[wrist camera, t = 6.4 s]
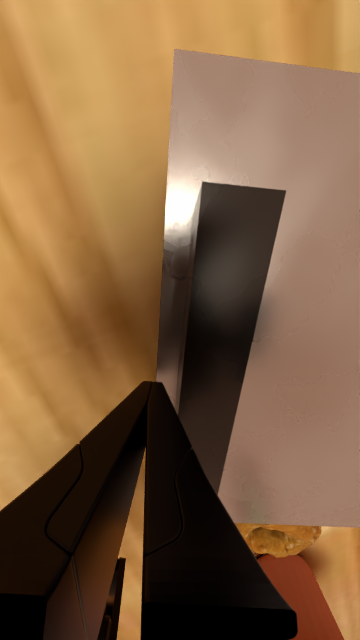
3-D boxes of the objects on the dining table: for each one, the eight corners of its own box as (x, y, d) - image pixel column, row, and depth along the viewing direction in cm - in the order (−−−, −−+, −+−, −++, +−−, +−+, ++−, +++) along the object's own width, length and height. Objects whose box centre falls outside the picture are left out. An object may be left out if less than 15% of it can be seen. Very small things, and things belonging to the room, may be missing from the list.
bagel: (215, 469, 22) (225, 524, 17) (308, 465, 22) (343, 519, 17) (213, 520, 25) (222, 579, 20) (295, 517, 25) (321, 575, 20)
